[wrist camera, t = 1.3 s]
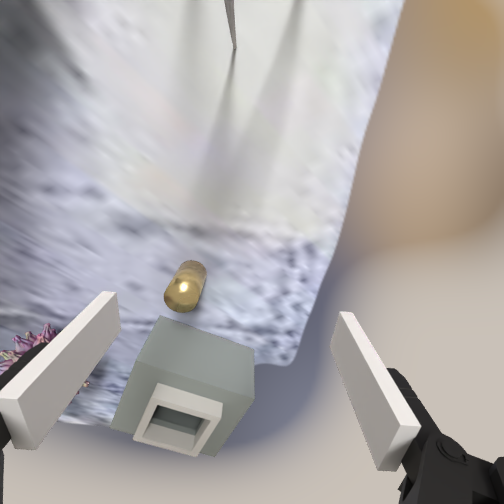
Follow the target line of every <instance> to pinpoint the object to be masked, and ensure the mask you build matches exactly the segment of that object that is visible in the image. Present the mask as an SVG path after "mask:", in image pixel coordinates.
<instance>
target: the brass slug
mask: <svg viewBox="0 0 504 504" xmlns="http://www.w3.org/2000/svg"><path fill="white" fill-rule="evenodd" d="M206 276H207V272H206V269H205V267H204V266H203V265H202V264H201V263H199V262H197V261H192V260H190V261H186V262H184V263H182V264H181V266H180V267H179V269H178V270H177V272H176V274H175V276H174V277H173V279H172V281H171V282H170V284H169V286H168V287H167V289H166V291H165V293H164V301H165V303H166V305H167V306H168V307H169V308H170V309H172V310H173V311H176V312H180V313H185V312H189V311H191V310H193V309H194V308H195V307H196V305H197V302H198V299H199V297H200V294H201V291H202V288H203V285H204V282H205V279H206Z"/></svg>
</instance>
